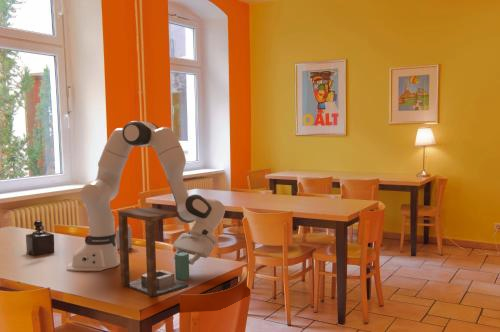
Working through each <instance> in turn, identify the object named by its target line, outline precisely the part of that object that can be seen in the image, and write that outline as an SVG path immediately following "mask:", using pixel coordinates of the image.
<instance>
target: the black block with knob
mask: <svg viewBox="0 0 500 332" xmlns="http://www.w3.org/2000/svg"><path fill="white" fill-rule="evenodd" d="M33 226H34V227H35V228H34V230H35V231H32V233H28V234H26V235H25V242H26V244H25V245H26V254H28V255H29V256H34V257H37V256H38V257H39V256H43V255H48V254H53V253H55V235H54V233H51V232H47V231H45V226H43V222H42V221H41V219H38V220H35V221H34V222H33Z"/></svg>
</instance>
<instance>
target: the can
mask: <svg viewBox="0 0 500 332" xmlns="http://www.w3.org/2000/svg"><path fill="white" fill-rule="evenodd" d="M115 231H116V232H115V233H116V243H117V244H116V249H118V250H119V251H120V243H119V225H117V228H115ZM132 236H133V235H132V228H131V225H130V224H128V249H129V250H130V249H132V247H133V239H132V238H133V237H132Z"/></svg>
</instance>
